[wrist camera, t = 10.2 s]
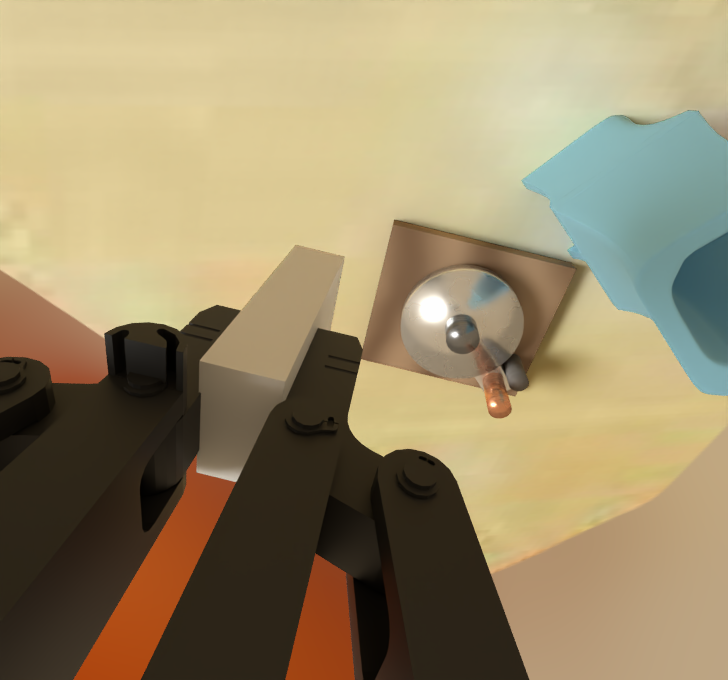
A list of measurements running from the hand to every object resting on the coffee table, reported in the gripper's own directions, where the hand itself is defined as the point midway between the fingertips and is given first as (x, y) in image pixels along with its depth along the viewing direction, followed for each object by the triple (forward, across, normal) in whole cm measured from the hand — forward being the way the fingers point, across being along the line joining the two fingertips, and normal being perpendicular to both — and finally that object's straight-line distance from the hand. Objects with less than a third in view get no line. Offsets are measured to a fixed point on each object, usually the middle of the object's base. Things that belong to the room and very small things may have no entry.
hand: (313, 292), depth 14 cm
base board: (+24, -10, +10) cm, 28 cm away
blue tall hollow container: (+25, -16, -2) cm, 30 cm away
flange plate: (+22, -10, +11) cm, 27 cm away
